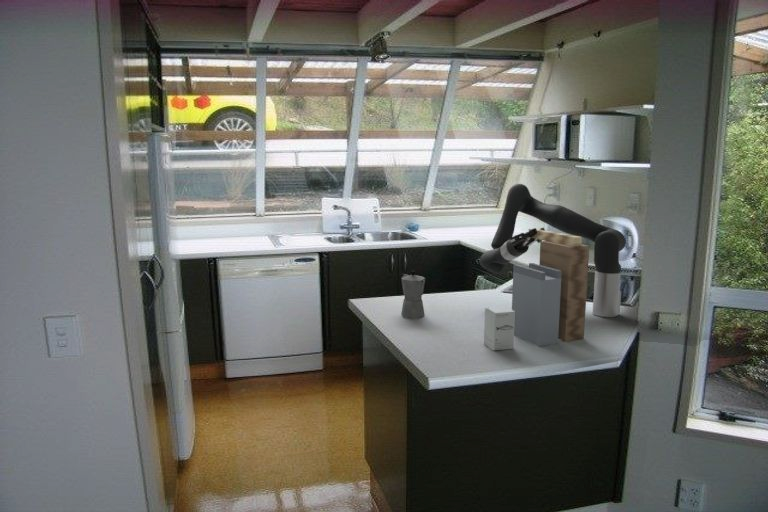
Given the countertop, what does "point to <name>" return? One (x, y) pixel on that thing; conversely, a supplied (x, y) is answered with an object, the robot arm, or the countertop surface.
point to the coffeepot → (412, 295)
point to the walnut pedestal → (569, 285)
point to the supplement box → (499, 328)
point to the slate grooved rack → (536, 303)
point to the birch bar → (558, 237)
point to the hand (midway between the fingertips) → (539, 230)
